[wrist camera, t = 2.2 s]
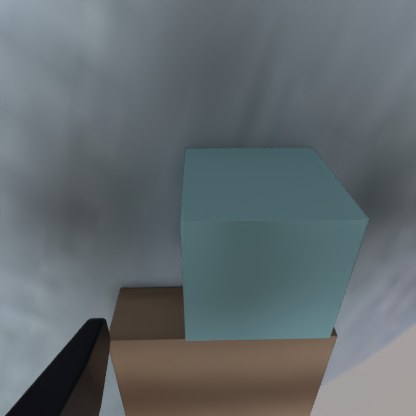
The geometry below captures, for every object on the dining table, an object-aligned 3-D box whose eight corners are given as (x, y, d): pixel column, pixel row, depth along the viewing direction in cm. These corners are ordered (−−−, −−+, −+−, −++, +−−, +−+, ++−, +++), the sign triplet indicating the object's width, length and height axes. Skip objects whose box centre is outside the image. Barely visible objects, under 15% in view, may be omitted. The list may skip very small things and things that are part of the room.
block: (293, 246, 16) (329, 337, 11) (188, 247, 15) (185, 341, 11) (312, 147, 13) (369, 219, 9) (185, 147, 13) (179, 221, 9)
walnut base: (289, 390, 22) (300, 440, 20) (140, 394, 22) (133, 445, 19) (316, 285, 17) (337, 335, 14) (120, 288, 17) (106, 340, 14)
